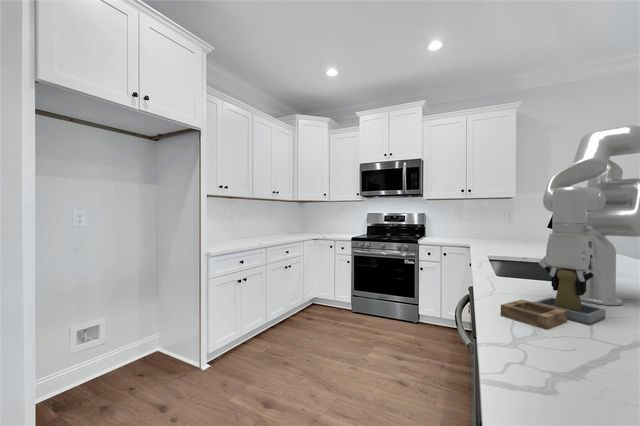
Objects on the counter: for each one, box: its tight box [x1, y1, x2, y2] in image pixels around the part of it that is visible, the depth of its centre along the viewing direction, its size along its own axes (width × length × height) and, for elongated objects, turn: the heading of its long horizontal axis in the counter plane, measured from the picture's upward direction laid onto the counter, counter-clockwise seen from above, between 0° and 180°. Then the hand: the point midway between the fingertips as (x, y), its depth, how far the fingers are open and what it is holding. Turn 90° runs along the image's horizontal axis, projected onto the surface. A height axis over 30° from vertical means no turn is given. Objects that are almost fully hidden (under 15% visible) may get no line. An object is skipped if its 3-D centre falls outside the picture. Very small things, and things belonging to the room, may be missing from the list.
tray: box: [533, 297, 606, 326], centre depth 84 cm, size 11×13×2 cm
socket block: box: [500, 299, 568, 330], centre depth 80 cm, size 11×11×3 cm
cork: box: [555, 268, 582, 310], centre depth 84 cm, size 6×6×11 cm
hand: (568, 291), depth 84 cm, fingers closed on cork, 4 cm apart
